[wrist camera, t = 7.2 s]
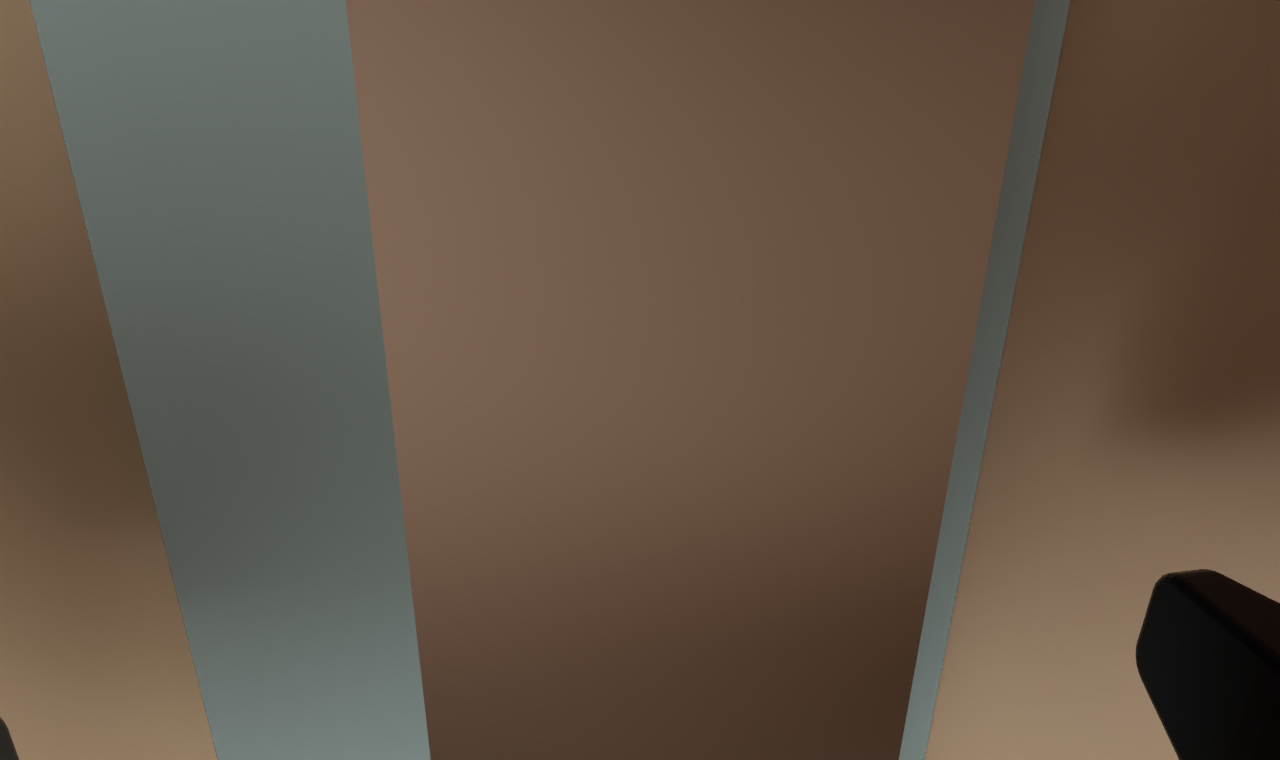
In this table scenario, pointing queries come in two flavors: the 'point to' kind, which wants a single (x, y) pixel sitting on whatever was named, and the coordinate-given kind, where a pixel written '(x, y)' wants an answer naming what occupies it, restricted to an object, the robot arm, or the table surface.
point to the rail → (678, 355)
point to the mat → (327, 355)
